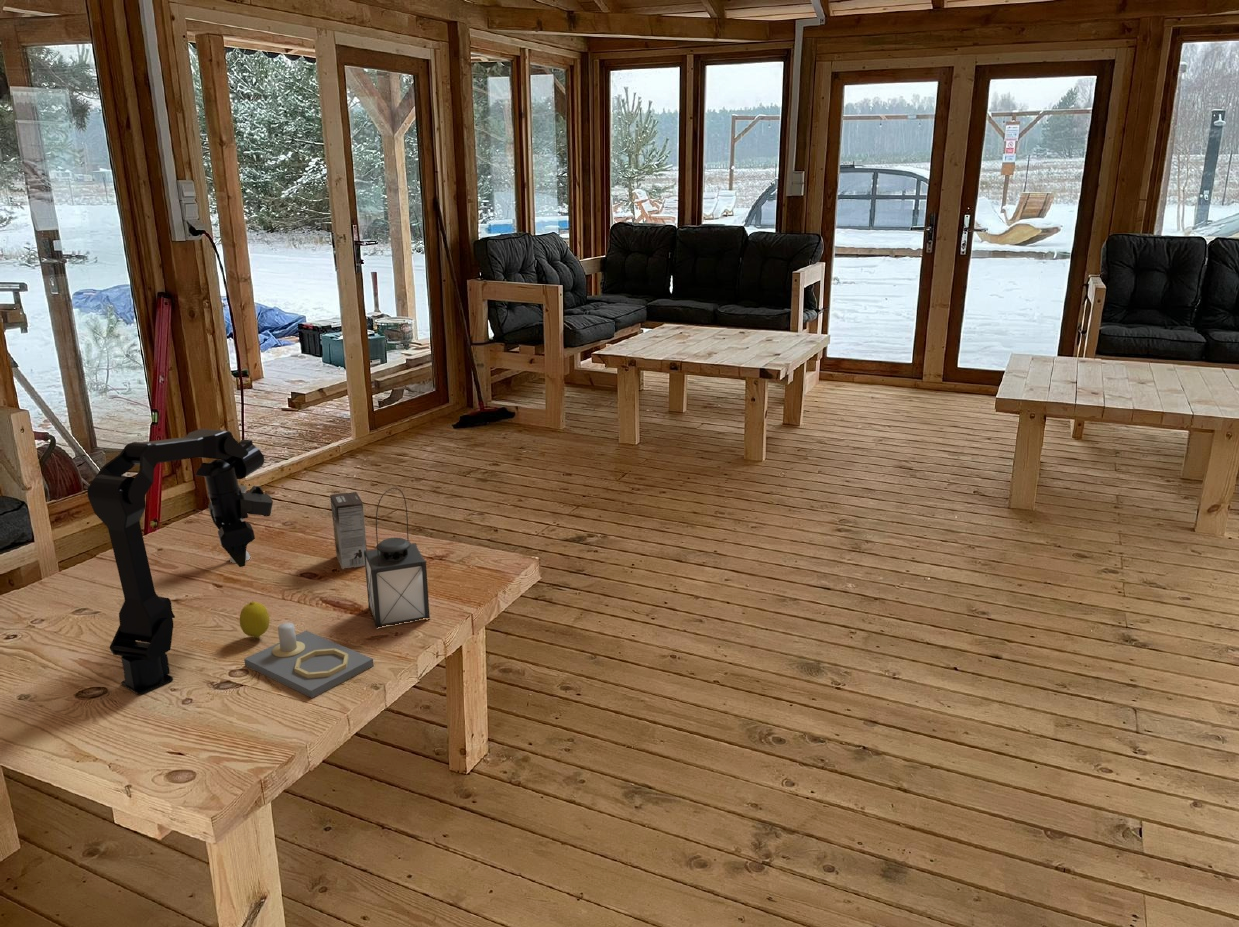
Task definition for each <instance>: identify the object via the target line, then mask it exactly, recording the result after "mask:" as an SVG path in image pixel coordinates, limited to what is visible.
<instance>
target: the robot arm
mask: <svg viewBox="0 0 1239 927" xmlns="http://www.w3.org/2000/svg"><path fill="white" fill-rule="evenodd" d="M196 458H201V459H212V460H211V461H210V462H201V464H200V467H199V468H197V471H196V473H195V476H196V477H204V478H205V482H206V486H207V487H206V488H207V491H208V492H207V494H208V498H209V500H210V502H209V504H208V505H207V506H208V507H207V508H208V510H209V514H210V516H211V519H212V522H213V524H214V525H215V527H216V528H217V529H218V530H217V535H218V539H219V542H220V544H221V547H222V548H223V549H224V550H225V552H226V553H227V554H229V556H231V557H232V558H233V560H234V561H235V562H236V563H235V564H236V565H237V566H238V568H243V567H245V566H246V550H247V546H248V544H250V543H251V542H254V540H255V539H256V537H255V533H254V529H253V527H252V525H251V523H249V522H248V521H245V520H243V522H241V520H240V519H241V518H242V519H248V518H249V515H255V516H264V517H270V516H271V514H272V508H273V503H274V501H273V499H272V496H271V495H269V494H268V493H267V492H265V493H264V492H263V489H262V487H261V486H258V485H253V486H252V487H251V488H250V489H249V491H246V493H241V489H240V487H239V485H240V484H239V481H238V480H243V479H245V478H246V477H248V476H250V475H251V474H253V473H254V472H255V471H258V470H259V469H260V468H262V467H263V465H264V463H265V456H264V454H263V453H262V451H261V450H260V449H259V448H258V447H257V446H255V445H254V444H253V440H252V439H242V440H240V441H238V440H236V439H235V437H234V436H233V433H232V432H231V431H229V430H223V429H222V430H221V429H209V428H208V429H207V428H199V429H196V430H193V431H190V432H188V434H187V435H186V436H183V437H175V438H167V439H159V440H151V441H150V440H149V441H142V442H141V441H133V442H129V443H127V444H126V445H125V446H124V448H123V449H122V450H121V451H120V453H119V454H118V455H117V456H115V457H114V458H112V459H111V460H109V461H108V462H107V463H105V464H104V465H103V466H102V467H101V469H100V470H99V471H98V472H97V474H96V475H95V476H94V478H93V479H92V481H91V482H90V484H89V486H88V487H87V491H86V493H87V498H88V501H89V503H90V506H91V508H92V511H93V512H94V514H95V516H97V517H98V519H99V520H100V521H101V522H102V523H103V524H104V525H105V526H106V527H107V530H108V534H109V539H110V542H111V543H110V544H111V547H112V551H113V555H114V559H115V563H116V568H117V572H118V576H119V580H120V581H119V582H120V584H121V590H122V593H123V596H124V597H123V598H124V601H123V604H122V605H121V608H120V610H119V612H118V617H119V618H118V619H119V626H118V628H117V630H116V633H115V634H114V637H113V638H112V641H111V643H110V645H109V650H110V651H111V653H112V654H113V656H120V658H121V665H122V669H123V670H122V671H123V674H124V675H123V676H124V680H122V681H121V686H123V687H125V688H126V689H128V690H130V691H132V692H133V693H135V694H137V695H139V696H140V695H143V694H146V693H148V692H150V691H151V690H154V689H157V688H159V687H160V686H161V687H162V686H163V685H165V684H168V683H170V682H172V681H174V677H173V676H172V675H170V673H171V671H170V664H169V658H168V652H169V651H171V648H172V640H173V630H174V619H175V618H176V615H175V614H174V613H173V612H174V611H173V607H172V601H171V599H170V598H169V597H164V596H159V595H158V594H157V592H156V590H155V585H154V581H153V576H152V573H151V568H150V563H149V558H148V555H147V549H146V545H145V540H144V536H143V531H142V527H141V522H140V521H141V518H142V516H143V515H144V511H145V510H146V506H147V505H146V504H147V503H146V495H147V493H148V492H149V490H150V488H151V487H152V486H153V483H154V480H155V479H154V476H155V475H154V472H155V467H156V466H157V464H161V463H162V464H163V463H169V462H175V461H181V460H187V459H188V460H189V459H196ZM135 465H139V470H138V472H137V474H136V475H135V477H134V476H126V475H125V474H126V473H127V472H128V471H130V470H132V469H133V468H134V467H135Z"/></svg>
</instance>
